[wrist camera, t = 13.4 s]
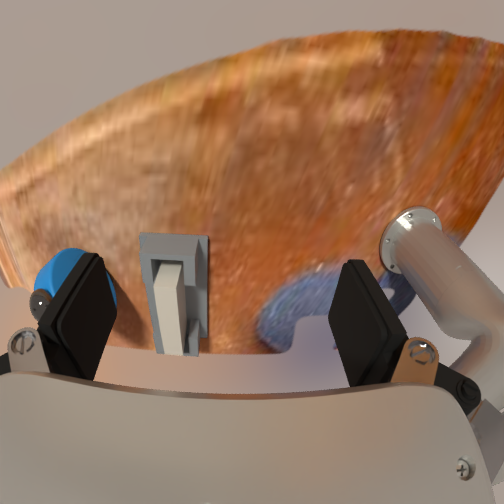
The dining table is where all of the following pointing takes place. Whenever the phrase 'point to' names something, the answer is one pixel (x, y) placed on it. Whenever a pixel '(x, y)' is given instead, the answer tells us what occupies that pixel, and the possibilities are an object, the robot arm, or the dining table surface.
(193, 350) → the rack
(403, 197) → the dining table surface
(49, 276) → the alarm clock
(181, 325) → the light grey rectangular block
